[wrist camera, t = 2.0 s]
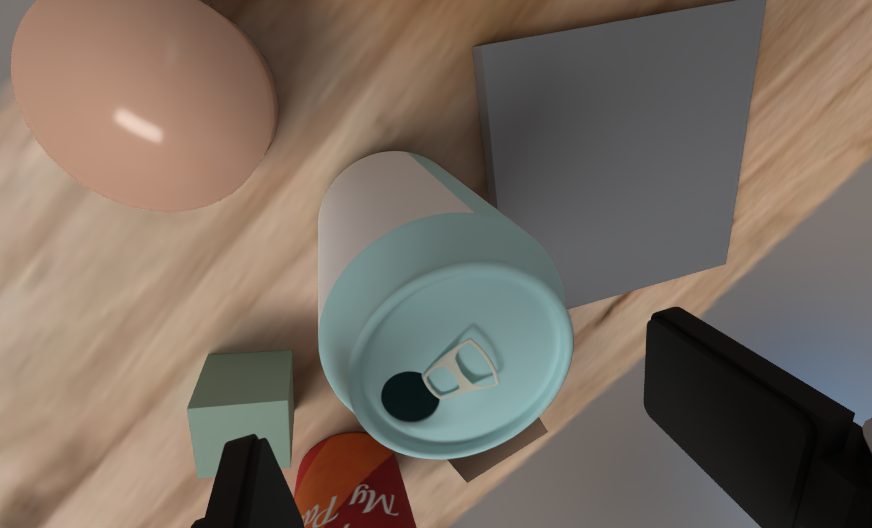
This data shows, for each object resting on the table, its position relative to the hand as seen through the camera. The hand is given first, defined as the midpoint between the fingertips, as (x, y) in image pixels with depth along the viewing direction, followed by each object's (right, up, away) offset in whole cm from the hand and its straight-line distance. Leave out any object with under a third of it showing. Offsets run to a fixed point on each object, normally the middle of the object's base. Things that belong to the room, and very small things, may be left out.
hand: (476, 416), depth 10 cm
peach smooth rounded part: (-11, +10, +7) cm, 16 cm away
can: (-3, +6, +11) cm, 13 cm away
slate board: (+8, +9, +13) cm, 18 cm away
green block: (-11, -3, +13) cm, 17 cm away
